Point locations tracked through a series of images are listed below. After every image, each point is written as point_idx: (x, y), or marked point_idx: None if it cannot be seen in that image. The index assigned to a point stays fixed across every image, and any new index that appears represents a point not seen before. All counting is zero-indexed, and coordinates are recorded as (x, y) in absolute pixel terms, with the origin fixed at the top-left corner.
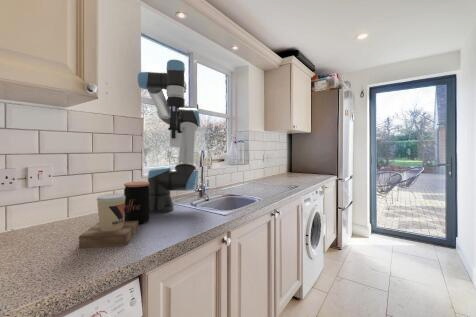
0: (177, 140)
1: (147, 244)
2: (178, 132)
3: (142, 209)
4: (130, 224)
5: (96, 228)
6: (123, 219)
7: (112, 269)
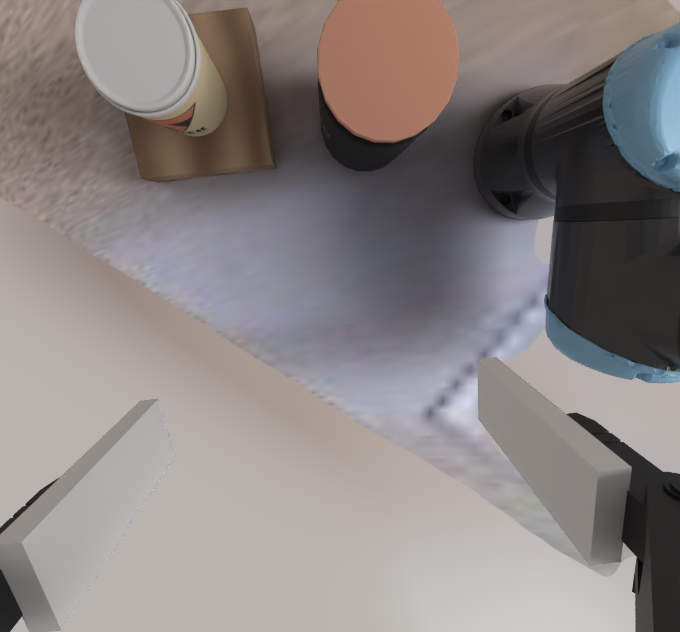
0: (515, 433)
1: (172, 239)
2: (631, 541)
3: (335, 148)
4: (229, 151)
5: None
6: (193, 132)
7: (34, 210)
